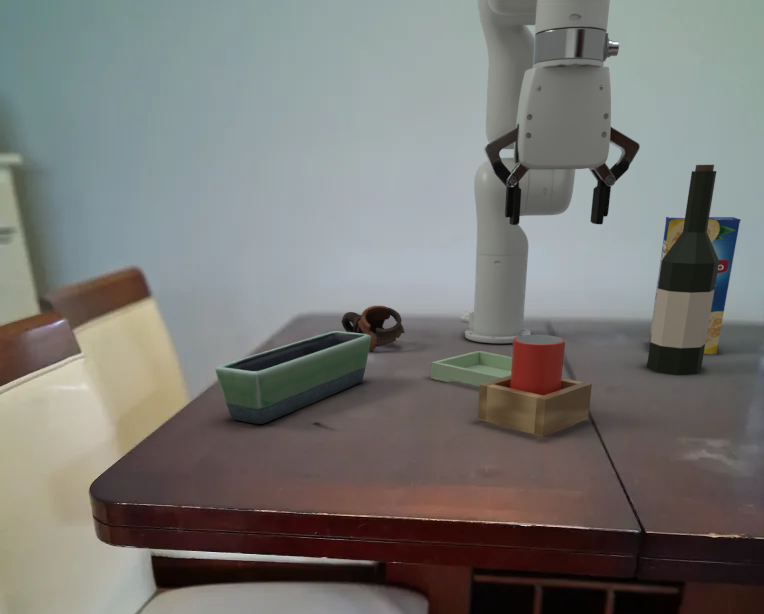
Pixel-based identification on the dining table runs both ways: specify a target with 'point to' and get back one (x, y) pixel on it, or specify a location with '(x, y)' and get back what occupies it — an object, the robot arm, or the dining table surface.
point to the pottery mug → (374, 325)
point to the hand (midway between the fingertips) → (555, 224)
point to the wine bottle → (686, 286)
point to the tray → (472, 368)
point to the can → (537, 363)
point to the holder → (534, 406)
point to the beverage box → (724, 244)
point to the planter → (293, 375)
